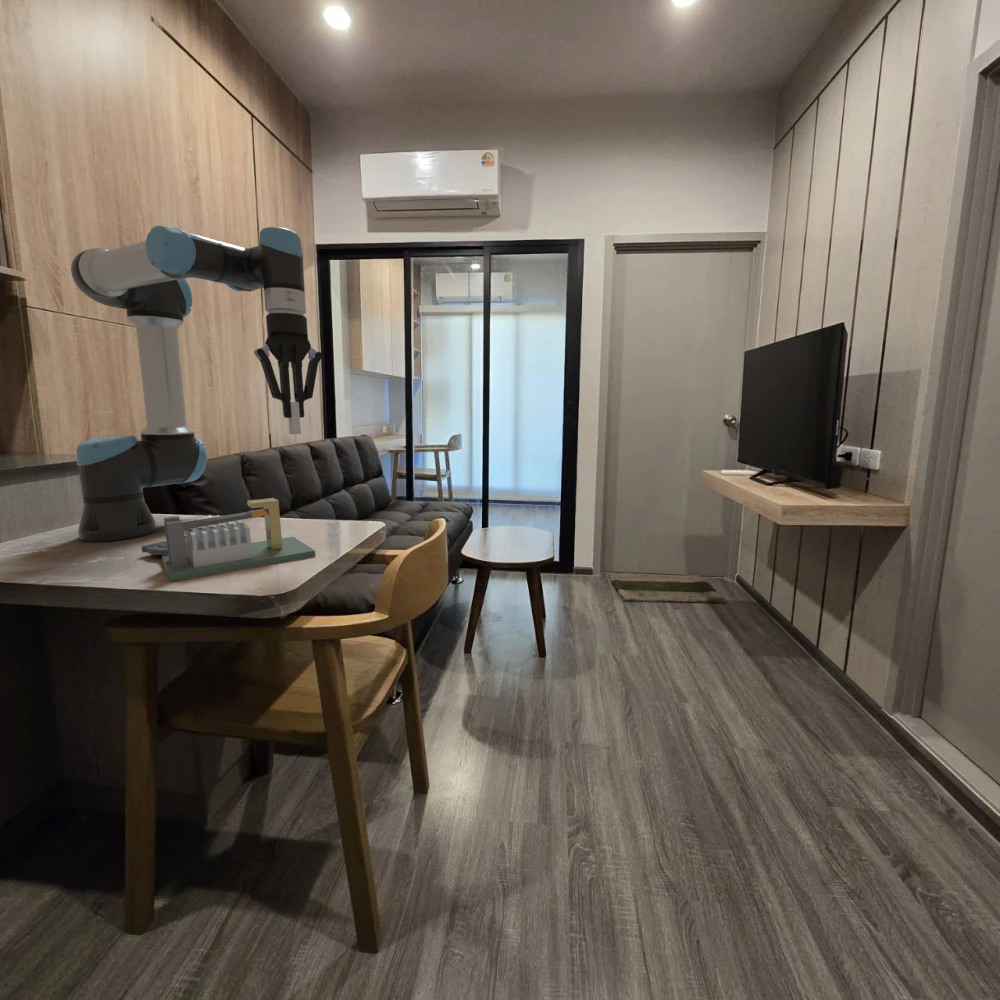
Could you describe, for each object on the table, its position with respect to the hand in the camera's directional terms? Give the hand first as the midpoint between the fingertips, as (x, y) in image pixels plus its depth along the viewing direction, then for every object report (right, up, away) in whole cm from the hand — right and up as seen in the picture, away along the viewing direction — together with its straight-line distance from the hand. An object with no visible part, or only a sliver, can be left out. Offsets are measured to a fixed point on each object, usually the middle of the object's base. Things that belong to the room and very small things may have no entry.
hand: (295, 434), depth 107 cm
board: (-10, -26, -3) cm, 27 cm away
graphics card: (-25, -25, +5) cm, 35 cm away
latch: (-6, -24, -1) cm, 24 cm away
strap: (-12, -18, -7) cm, 23 cm away
